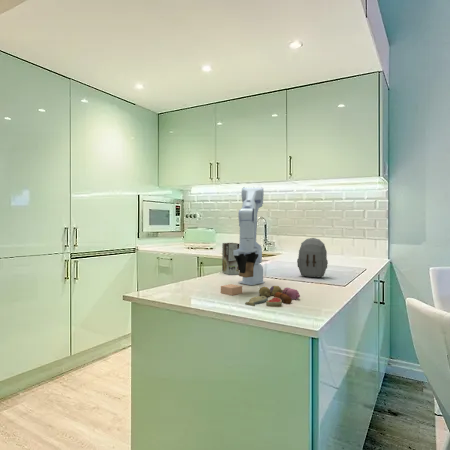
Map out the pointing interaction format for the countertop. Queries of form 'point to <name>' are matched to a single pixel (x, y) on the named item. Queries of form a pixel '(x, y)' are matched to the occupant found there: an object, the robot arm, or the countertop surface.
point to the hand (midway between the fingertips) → (246, 272)
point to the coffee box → (229, 258)
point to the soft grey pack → (312, 258)
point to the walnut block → (247, 270)
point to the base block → (231, 289)
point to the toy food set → (279, 296)
